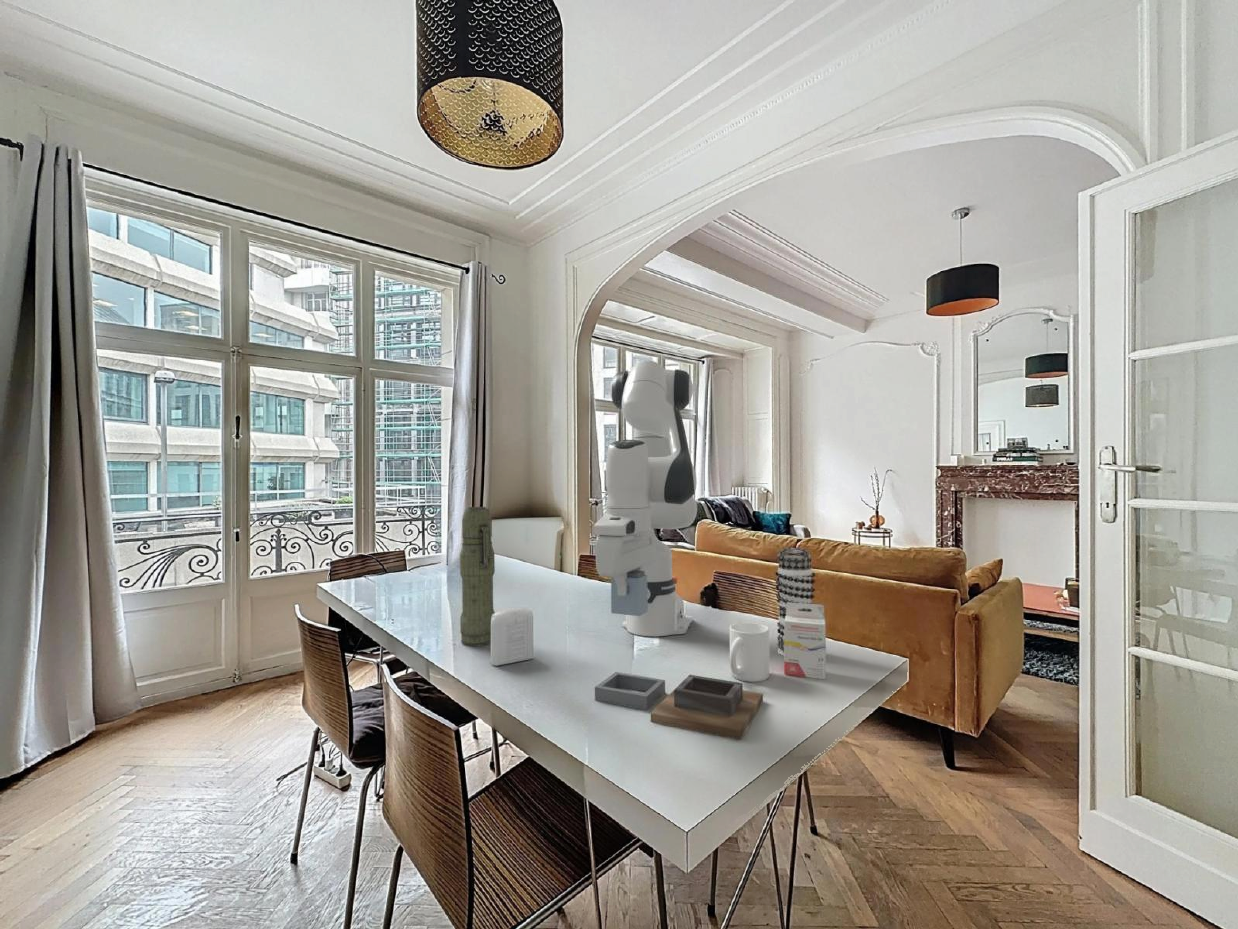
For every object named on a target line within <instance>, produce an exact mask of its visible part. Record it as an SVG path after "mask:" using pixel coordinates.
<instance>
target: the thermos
mask: <svg viewBox="0 0 1238 929" xmlns="http://www.w3.org/2000/svg"><path fill="white" fill-rule="evenodd" d="M492 525H493V518H492V514H491V512H490V509H489V508H487V507H486V506H470V507H469V506H468V507H467V508H465V509H464V512H463V515H462V518H461V533H462V534H461V536H462V547H461V550H460V554H459V573H460V577H461V588H462V589H461V593H462V594H461V596H462V597H461V598H462V599H461V601H462V602H461V603H462V606H461V608H462V610H461V611H462V612H461V614H460V618H459V619H460V620H459V622H460V630H459V632H460V636H461V640H460V642H461V644H462V643H463V644H462V645H464V644H465V646H468V645H470V646H471V647H473V646H474V647H477V645H480V646H484V644H486V645H488V644H487V643H489V644H491V617H492V615H493V614H495V613H496V612H495V610H494V575H495V568H496V566H495V564H496V563H495V551H494V547H493V541H492V537H493V527H492ZM472 645H473V646H472ZM470 646H469V647H470Z"/></svg>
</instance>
